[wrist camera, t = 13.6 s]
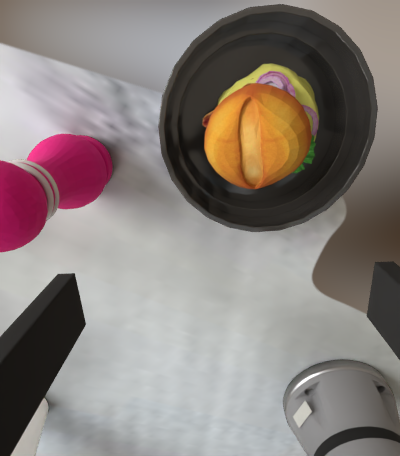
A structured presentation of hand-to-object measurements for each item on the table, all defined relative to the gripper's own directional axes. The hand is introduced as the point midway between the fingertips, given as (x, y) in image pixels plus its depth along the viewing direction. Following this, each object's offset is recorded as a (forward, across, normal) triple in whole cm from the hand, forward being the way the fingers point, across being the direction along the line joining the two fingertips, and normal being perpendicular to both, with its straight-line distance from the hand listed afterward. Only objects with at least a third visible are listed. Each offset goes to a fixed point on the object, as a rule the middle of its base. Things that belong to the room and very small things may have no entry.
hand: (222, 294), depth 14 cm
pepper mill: (+23, +14, -3) cm, 28 cm away
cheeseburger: (+23, -5, -6) cm, 24 cm away
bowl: (+23, -5, -6) cm, 24 cm away
